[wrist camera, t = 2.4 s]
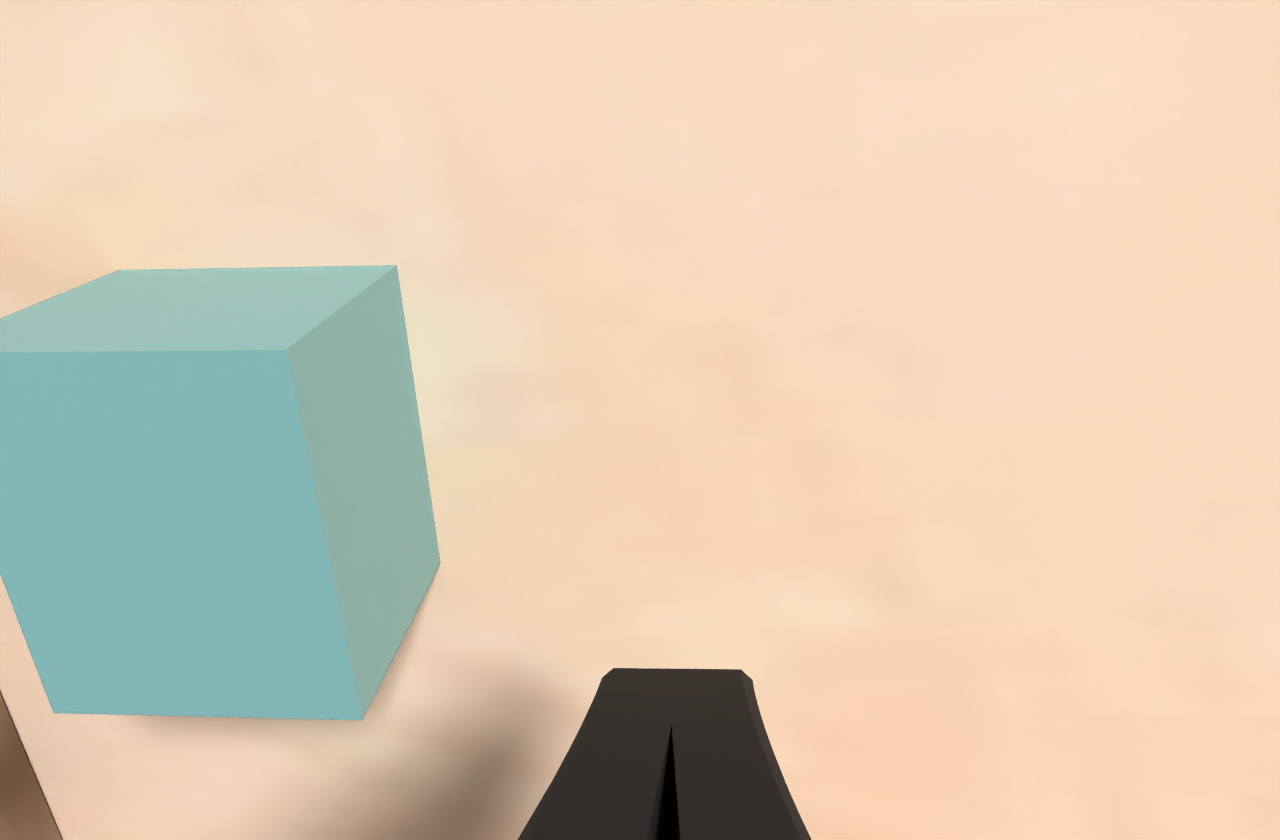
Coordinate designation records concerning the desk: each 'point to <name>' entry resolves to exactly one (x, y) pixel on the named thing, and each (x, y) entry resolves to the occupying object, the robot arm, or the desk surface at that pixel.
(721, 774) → the robot arm
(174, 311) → the teal block
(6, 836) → the walnut board
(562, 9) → the desk surface
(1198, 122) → the desk surface
